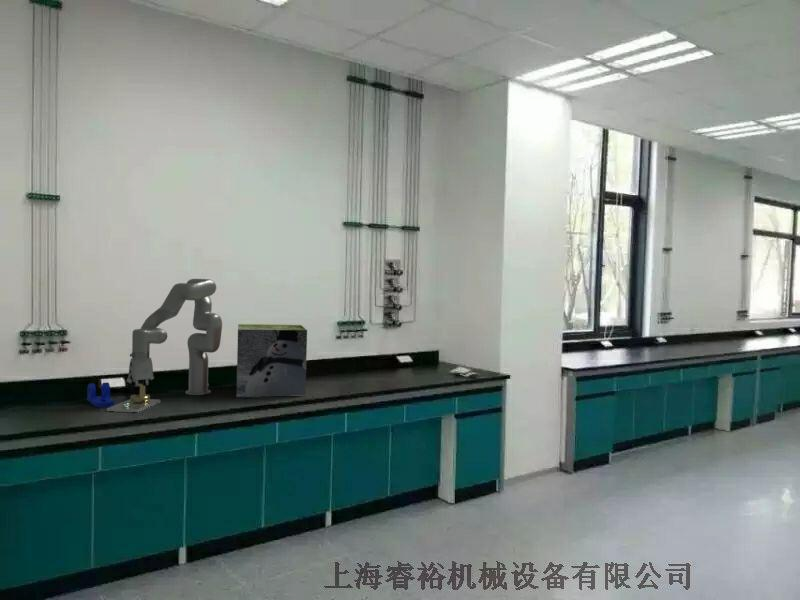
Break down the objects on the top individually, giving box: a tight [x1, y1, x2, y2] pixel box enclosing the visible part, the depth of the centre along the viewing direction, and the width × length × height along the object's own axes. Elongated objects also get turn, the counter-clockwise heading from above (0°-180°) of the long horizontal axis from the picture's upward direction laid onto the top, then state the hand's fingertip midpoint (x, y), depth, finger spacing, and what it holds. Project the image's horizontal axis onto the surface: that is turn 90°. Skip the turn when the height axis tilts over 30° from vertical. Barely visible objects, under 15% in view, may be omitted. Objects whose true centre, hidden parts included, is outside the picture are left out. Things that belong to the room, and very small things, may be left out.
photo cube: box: [236, 323, 308, 398], centre depth 323 cm, size 35×35×35 cm
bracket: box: [86, 382, 115, 408], centre depth 280 cm, size 18×8×9 cm, turn 40°
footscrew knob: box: [130, 383, 151, 403], centre depth 279 cm, size 10×8×8 cm
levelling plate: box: [106, 398, 161, 413], centre depth 274 cm, size 22×14×3 cm, turn 177°
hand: (140, 393), depth 279 cm, fingers closed on footscrew knob, 3 cm apart
